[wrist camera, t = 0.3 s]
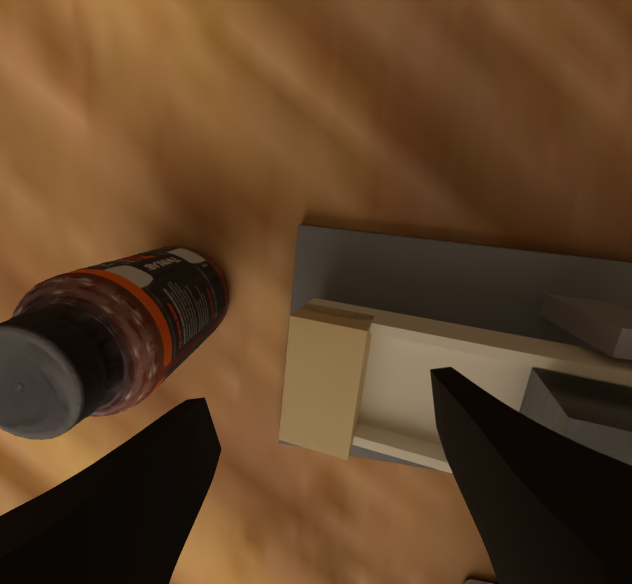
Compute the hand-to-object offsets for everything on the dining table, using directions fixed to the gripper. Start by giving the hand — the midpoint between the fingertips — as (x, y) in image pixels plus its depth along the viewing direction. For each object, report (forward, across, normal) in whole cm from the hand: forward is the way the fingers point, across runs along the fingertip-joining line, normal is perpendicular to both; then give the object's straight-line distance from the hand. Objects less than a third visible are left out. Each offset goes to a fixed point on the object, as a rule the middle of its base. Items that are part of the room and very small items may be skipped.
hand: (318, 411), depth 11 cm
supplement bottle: (+11, +9, -2) cm, 14 cm away
